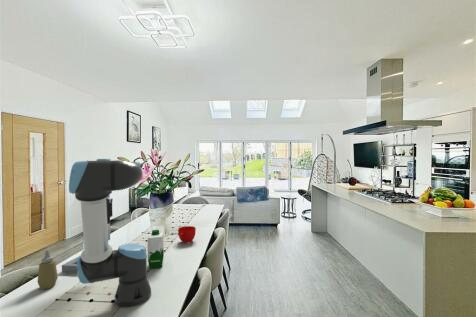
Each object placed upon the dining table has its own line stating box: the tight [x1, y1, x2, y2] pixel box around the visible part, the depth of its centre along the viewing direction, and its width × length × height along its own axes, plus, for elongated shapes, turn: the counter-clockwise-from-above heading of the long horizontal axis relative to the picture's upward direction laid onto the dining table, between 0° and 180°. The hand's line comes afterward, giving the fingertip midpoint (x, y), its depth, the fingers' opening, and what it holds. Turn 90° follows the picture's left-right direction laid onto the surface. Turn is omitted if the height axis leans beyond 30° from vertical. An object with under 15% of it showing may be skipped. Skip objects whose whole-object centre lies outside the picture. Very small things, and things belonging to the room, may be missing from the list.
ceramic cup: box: [177, 225, 197, 244], centre depth 187 cm, size 13×17×10 cm
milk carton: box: [147, 229, 165, 270], centre depth 147 cm, size 9×9×20 cm
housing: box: [61, 256, 79, 274], centre depth 151 cm, size 24×16×4 cm, turn 173°
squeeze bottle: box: [37, 249, 59, 290], centre depth 124 cm, size 8×8×18 cm
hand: (104, 228), depth 139 cm, fingers closed on cartridge, 5 cm apart
